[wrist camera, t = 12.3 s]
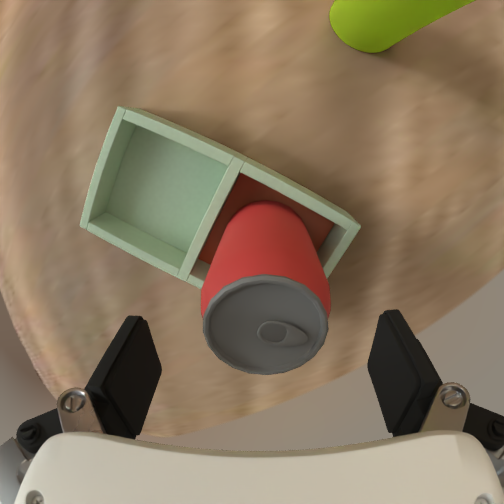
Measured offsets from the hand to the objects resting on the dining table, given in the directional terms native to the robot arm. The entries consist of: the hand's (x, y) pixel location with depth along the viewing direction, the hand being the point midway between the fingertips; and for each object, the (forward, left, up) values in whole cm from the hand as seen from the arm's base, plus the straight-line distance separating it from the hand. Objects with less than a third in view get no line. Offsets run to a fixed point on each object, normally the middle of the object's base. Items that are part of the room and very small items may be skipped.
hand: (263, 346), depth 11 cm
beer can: (0, 0, -14) cm, 14 cm away
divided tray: (-4, 0, -14) cm, 15 cm away
